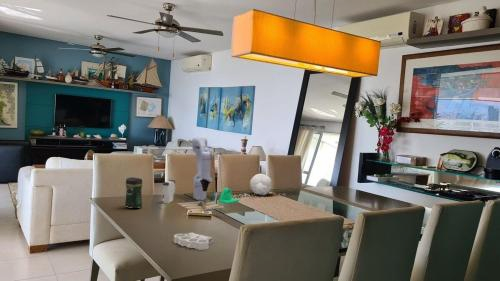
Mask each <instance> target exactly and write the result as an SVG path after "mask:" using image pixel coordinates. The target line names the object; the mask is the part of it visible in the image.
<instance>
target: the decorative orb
mask: <svg viewBox="0 0 500 281" xmlns="http://www.w3.org/2000/svg"><path fill="white" fill-rule="evenodd" d="M249 187H250V189H251V191H252V192H253V193H254V194H256V195H259V196H265V195H267V194H268V193H270V191H271V188H272V179H271V177H270V176H268V175H266V174H264V173H257V174H255V175H254V176H252V178H251V179H250V181H249Z"/></svg>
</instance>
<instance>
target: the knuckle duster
mask: <svg viewBox="0 0 500 281" xmlns="http://www.w3.org/2000/svg"><path fill="white" fill-rule="evenodd" d="M213 242H214V238H213V237H211V236H207V235H203V234H198V233H195V232H189V233H176V234H173V244H176V243H178V244H179V245H181V246H186V247H188V248H187V249H189V248H195V249H194V250H198V251H206V250H208V249H209V245H211V244H212V243H213ZM178 244H177V245H178ZM179 245H178V246H179ZM181 246H180V247H181ZM186 247H185V248H186Z"/></svg>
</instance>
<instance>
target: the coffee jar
mask: <svg viewBox="0 0 500 281" xmlns="http://www.w3.org/2000/svg"><path fill="white" fill-rule="evenodd" d="M125 187H126V188H125V189H126V190H125V192H126V193H125V203H124V207H125V206H128V207H132V208H138V207H141V208H143V201H142V200H143V198H142V195H143V194H142V187H143V179H142V178H139V177H127V178H126V180H125Z"/></svg>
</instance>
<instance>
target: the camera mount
mask: <svg viewBox="0 0 500 281" xmlns="http://www.w3.org/2000/svg"><path fill="white" fill-rule="evenodd" d="M218 203H223V204H233V203H240V200H239V199H237V198H233V194H232V189H231V188H230V187H229V188H228V187H224V188H223V190H222V192H221V195H220V197H219V199H218Z"/></svg>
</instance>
